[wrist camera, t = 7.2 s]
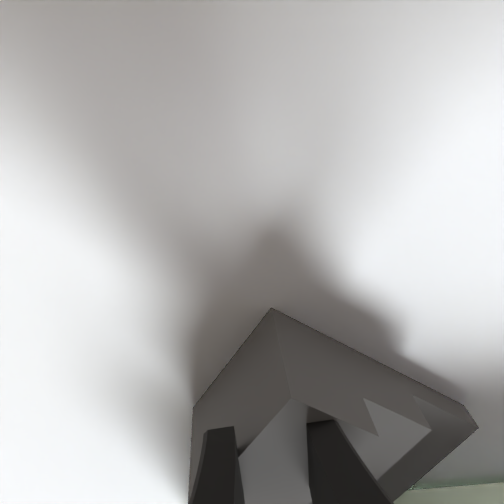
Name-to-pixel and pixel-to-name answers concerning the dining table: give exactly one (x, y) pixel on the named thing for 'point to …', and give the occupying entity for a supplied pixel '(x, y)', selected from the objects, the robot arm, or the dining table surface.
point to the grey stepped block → (322, 413)
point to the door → (455, 495)
